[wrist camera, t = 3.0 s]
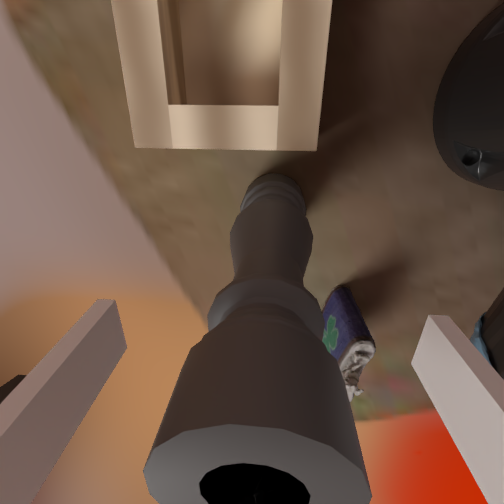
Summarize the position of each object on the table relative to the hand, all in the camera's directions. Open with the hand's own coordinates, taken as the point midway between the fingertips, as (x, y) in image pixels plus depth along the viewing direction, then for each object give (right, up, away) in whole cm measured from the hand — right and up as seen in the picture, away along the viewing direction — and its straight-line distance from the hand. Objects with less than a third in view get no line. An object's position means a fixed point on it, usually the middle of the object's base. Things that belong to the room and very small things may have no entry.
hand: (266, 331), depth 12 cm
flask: (+9, -4, +23) cm, 25 cm away
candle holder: (+2, +9, +17) cm, 19 cm away
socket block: (-2, +20, +12) cm, 23 cm away
